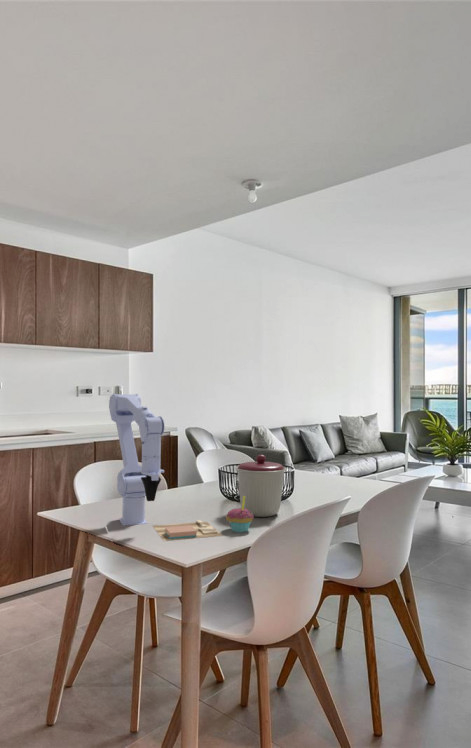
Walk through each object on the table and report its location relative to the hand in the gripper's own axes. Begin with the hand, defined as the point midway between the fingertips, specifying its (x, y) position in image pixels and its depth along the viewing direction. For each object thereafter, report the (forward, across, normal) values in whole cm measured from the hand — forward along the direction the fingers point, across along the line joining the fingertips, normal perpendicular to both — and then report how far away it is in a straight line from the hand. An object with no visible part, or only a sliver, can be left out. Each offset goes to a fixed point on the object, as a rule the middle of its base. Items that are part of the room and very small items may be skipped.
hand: (150, 500), depth 163 cm
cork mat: (+10, -2, -11) cm, 15 cm away
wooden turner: (+9, -1, -17) cm, 19 cm away
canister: (+10, +14, -42) cm, 45 cm away
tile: (+8, -3, -8) cm, 12 cm away
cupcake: (+10, -6, -27) cm, 29 cm away
